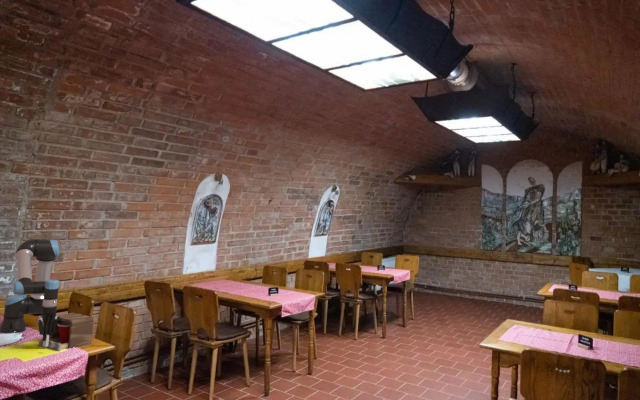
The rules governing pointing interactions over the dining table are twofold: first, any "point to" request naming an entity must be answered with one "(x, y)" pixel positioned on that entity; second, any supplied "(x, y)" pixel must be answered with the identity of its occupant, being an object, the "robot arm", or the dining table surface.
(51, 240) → the robot arm
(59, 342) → the tray
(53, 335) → the block
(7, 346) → the dining table surface
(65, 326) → the plastic cup
